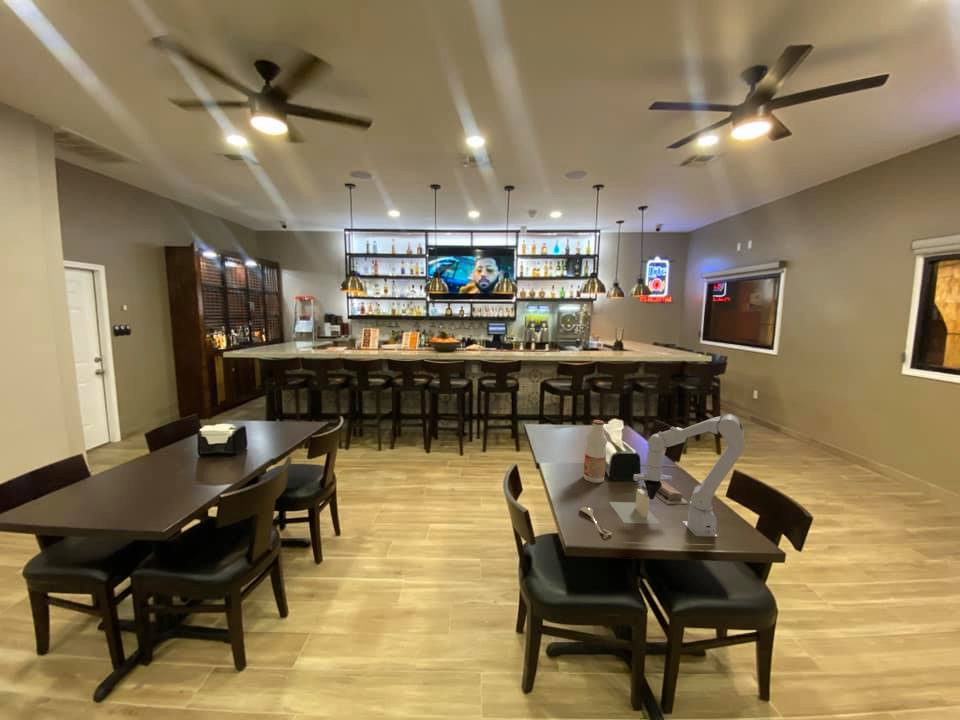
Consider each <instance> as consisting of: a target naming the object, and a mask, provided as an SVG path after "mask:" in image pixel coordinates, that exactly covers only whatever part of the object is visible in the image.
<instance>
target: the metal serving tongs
mask: <svg viewBox="0 0 960 720" xmlns="http://www.w3.org/2000/svg"><path fill="white" fill-rule="evenodd" d="M579 510H580V511H581V512H583V513H584V514H587V515H588V516H589V517H591V519H592V521H593V523H594V525H595V527H596V528H597V529H598V530H597V531H598V533H600V534H603V535H605V536H611V535H612V534H613V532H612V531H611V532H610V531H609V530H607V529H605V528H602V527H601V525H600V524H599V523H598V522H597V521H596V519H595V517H594V509H593V508H592V507H590V506H582V507H581V508H580V509H579Z"/></svg>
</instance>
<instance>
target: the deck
mask: <svg viewBox="0 0 960 720" xmlns="http://www.w3.org/2000/svg"><path fill="white" fill-rule="evenodd" d="M635 503H636V504H635V508H636V510H637V511H638V512H639V513H640V514H641V516H642V517H647V516H648V510H649V505H650V499H649V497H648V493H645V491H644V490H643V489H641V488H637V489H636V495H635Z"/></svg>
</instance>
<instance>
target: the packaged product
mask: <svg viewBox="0 0 960 720" xmlns="http://www.w3.org/2000/svg"><path fill="white" fill-rule="evenodd" d="M660 482H661V483H662V486H661V487H660V488H659V489H658V491H657V492H656V494H655V497H656V498H659V500H661V501H662V502H663V503H665V504H667V505H688V504H689V501H687V500H686V499H684V498H683V496H684V494H683V493H681V492H680V491H678V490H677V489H675V488H674V487H673V486H671V485H670V484H668V483H667V481H660ZM642 487H643V488H644V489H645V490H647V488H646V485H645V483H642Z"/></svg>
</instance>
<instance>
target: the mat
mask: <svg viewBox="0 0 960 720" xmlns="http://www.w3.org/2000/svg"><path fill="white" fill-rule="evenodd" d="M608 503H609V505H611V507H612V509H613V510H614V511H615V512H616V514H617V515H618V517H619V518H620V520H621V521H622V522H623V524H650V525H653V524H655V525H661V524H662V523H661V522H660V521H659V520H658V519H657V518H656V517H655V515H654V514H653V513H652V511H650V509H648V516H647V517H642V516H641V514H640V513H639V512H638V511H637V510H636V508H635V504H636V502H631V501H630V502H626V501H623V502H622V501H608Z"/></svg>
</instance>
